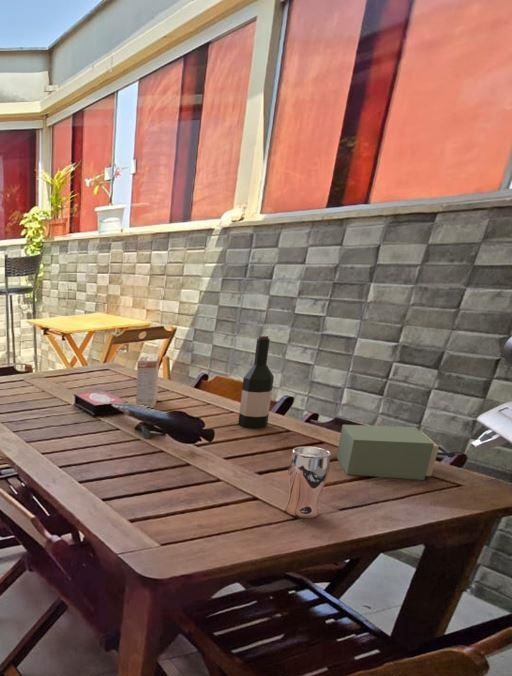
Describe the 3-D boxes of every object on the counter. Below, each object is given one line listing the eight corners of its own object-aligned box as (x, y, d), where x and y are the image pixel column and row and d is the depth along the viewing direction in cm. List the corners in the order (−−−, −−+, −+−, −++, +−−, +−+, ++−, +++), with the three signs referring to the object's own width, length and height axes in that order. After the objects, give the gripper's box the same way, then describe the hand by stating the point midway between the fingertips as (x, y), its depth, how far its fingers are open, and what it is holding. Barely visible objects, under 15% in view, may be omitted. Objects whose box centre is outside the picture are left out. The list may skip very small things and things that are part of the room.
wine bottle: (240, 428, 165) (250, 339, 155) (236, 421, 172) (245, 335, 162) (269, 429, 162) (282, 337, 152) (264, 421, 169) (276, 333, 159)
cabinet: (407, 461, 130) (415, 427, 126) (424, 480, 120) (434, 443, 116) (336, 457, 137) (342, 424, 134) (346, 474, 127) (353, 439, 124)
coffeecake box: (139, 398, 211) (141, 353, 205) (157, 399, 208) (160, 353, 201) (134, 408, 199) (136, 360, 193) (154, 408, 196) (156, 360, 189)
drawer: (436, 460, 126) (444, 432, 124) (454, 478, 117) (463, 447, 115) (348, 455, 135) (353, 428, 132) (358, 471, 126) (364, 442, 123)
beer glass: (311, 505, 114) (322, 445, 109) (326, 519, 108) (338, 457, 103) (277, 504, 116) (286, 446, 111) (289, 518, 110) (299, 457, 105)
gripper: (513, 388, 118) (446, 425, 126) (563, 412, 102) (483, 453, 110) (535, 407, 118) (467, 442, 126) (589, 433, 101) (506, 473, 109)
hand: (474, 447), depth 118 cm, fingers closed
